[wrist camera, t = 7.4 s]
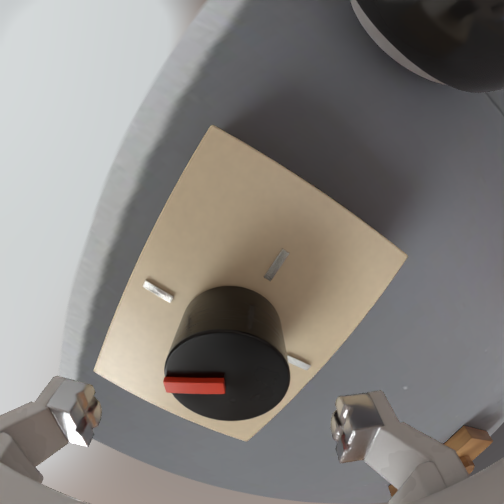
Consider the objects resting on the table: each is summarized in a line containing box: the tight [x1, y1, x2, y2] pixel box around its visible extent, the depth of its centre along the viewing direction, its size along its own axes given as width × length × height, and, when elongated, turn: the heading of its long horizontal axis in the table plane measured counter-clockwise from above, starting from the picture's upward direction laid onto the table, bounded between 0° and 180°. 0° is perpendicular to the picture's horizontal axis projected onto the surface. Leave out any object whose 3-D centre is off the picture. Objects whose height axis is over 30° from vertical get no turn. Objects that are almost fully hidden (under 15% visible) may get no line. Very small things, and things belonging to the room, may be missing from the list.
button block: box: [388, 426, 493, 497], centre depth 21 cm, size 12×8×4 cm, turn 149°
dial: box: [163, 286, 290, 421], centre depth 11 cm, size 4×4×4 cm
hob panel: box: [94, 125, 408, 441], centre depth 14 cm, size 14×10×3 cm
